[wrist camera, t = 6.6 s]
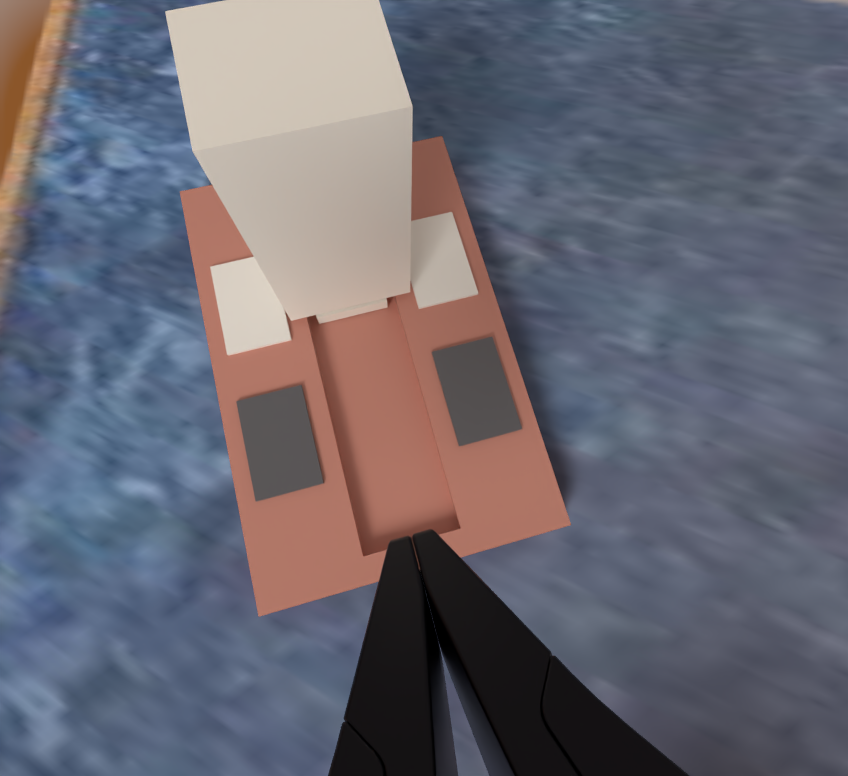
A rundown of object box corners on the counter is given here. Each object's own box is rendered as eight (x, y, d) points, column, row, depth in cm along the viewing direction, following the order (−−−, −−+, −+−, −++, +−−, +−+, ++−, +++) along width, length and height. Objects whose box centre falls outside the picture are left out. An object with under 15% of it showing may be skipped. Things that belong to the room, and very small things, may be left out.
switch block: (559, 524, 21) (572, 524, 20) (269, 609, 20) (257, 617, 19) (440, 157, 25) (442, 133, 24) (193, 211, 24) (178, 189, 23)
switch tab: (410, 301, 23) (412, 106, 12) (296, 329, 22) (192, 151, 11) (387, 222, 23) (370, -26, 13) (277, 247, 23) (165, 11, 12)
